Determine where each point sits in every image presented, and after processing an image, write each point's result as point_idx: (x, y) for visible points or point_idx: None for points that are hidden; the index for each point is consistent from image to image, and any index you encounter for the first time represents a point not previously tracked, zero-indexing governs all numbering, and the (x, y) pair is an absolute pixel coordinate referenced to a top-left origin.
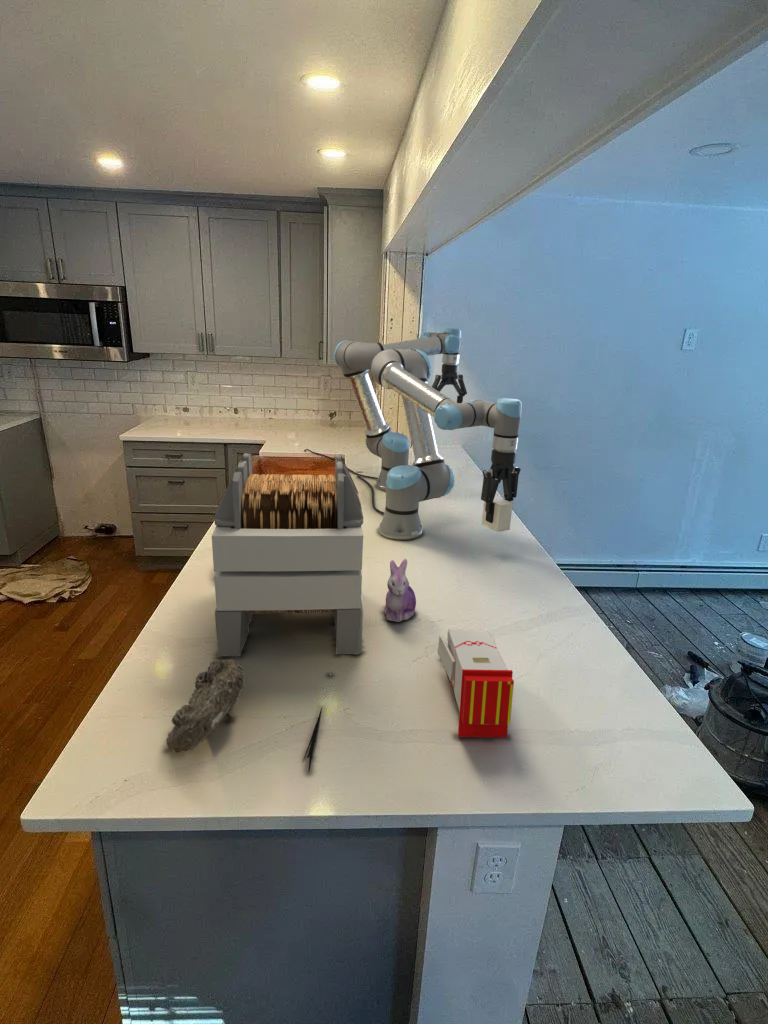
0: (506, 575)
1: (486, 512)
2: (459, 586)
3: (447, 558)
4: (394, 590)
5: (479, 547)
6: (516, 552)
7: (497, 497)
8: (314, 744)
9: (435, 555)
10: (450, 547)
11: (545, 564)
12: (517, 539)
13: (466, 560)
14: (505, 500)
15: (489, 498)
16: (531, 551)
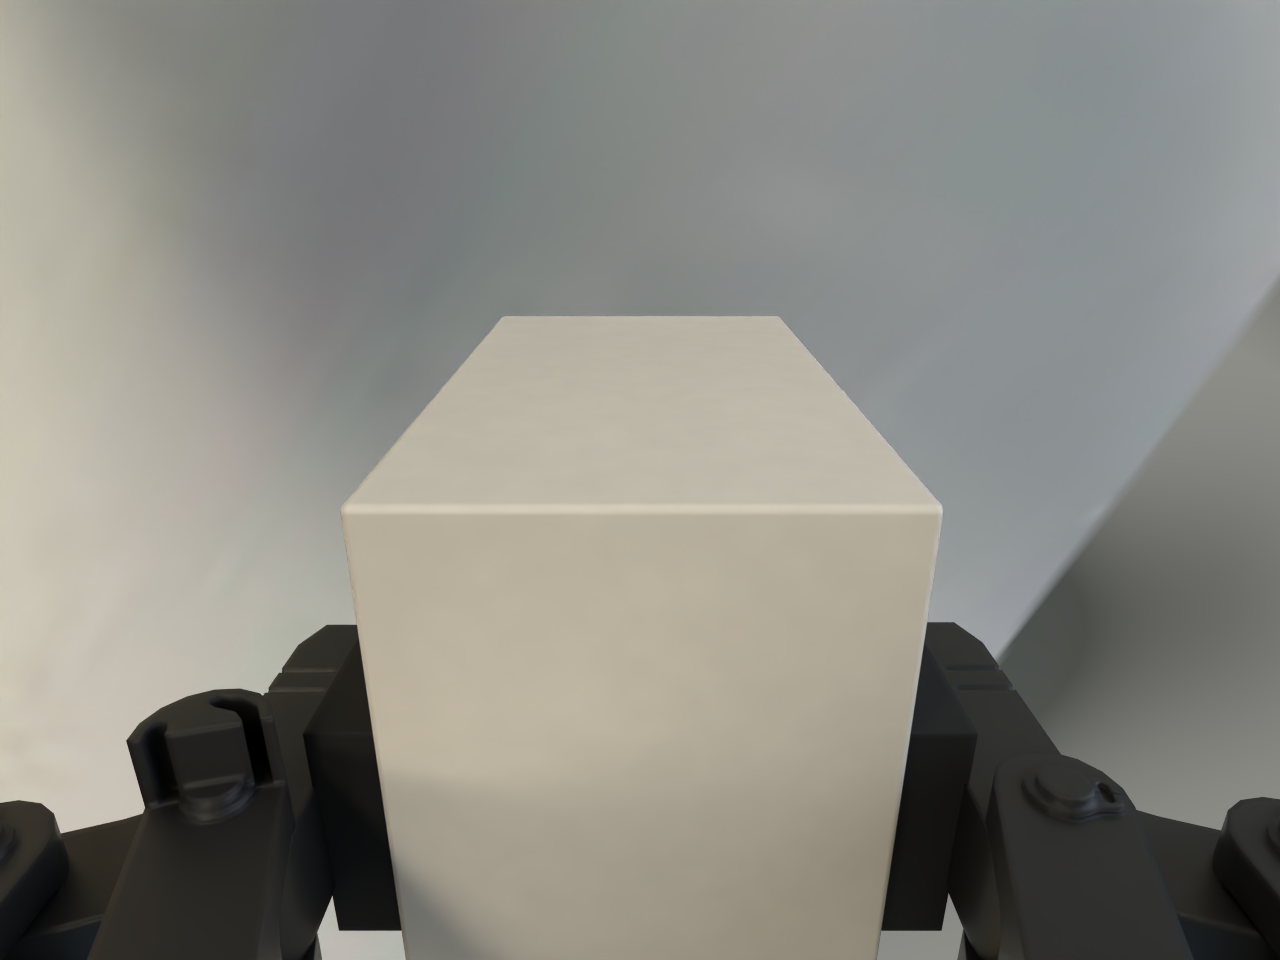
0: None
1: None
2: (6, 747)
3: (114, 276)
4: None
5: (624, 173)
6: (899, 451)
7: (825, 644)
8: None
9: (5, 148)
10: (283, 13)
11: None
12: (1222, 167)
13: (292, 398)
14: (835, 917)
15: (483, 622)
16: (1054, 493)
